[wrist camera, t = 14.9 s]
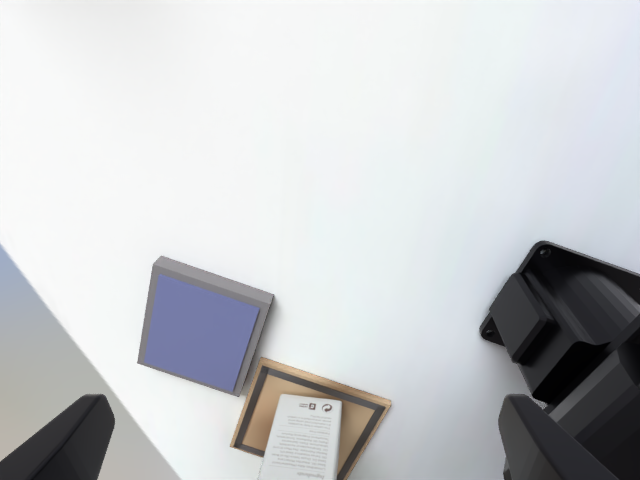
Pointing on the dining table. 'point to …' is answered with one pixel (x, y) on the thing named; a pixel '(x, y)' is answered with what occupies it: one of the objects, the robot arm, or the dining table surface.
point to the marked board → (277, 379)
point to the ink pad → (201, 325)
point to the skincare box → (303, 440)
